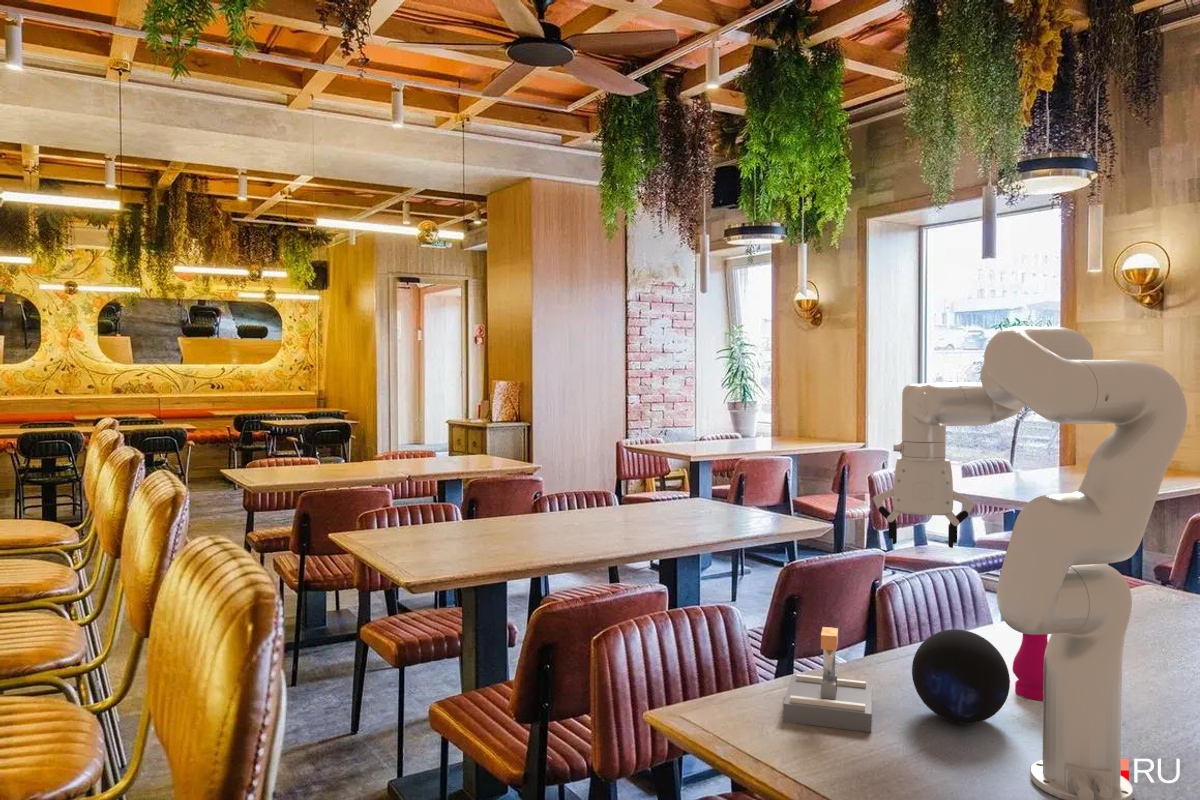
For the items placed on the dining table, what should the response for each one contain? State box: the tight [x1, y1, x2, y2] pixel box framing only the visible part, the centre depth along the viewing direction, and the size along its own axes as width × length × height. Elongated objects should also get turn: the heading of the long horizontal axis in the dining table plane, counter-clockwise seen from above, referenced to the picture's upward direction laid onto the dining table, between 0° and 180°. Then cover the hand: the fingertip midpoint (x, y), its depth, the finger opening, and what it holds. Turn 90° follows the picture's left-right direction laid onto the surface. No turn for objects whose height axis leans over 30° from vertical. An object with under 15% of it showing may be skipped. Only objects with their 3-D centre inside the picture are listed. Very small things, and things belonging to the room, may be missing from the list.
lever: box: [820, 626, 839, 683], centre depth 145 cm, size 5×3×10 cm, turn 162°
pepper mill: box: [1012, 633, 1049, 702], centre depth 153 cm, size 7×7×20 cm
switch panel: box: [782, 673, 873, 733], centre depth 146 cm, size 14×14×6 cm
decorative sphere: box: [911, 628, 1011, 725], centre depth 142 cm, size 15×15×15 cm
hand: (922, 544), depth 155 cm, fingers open, 9 cm apart
